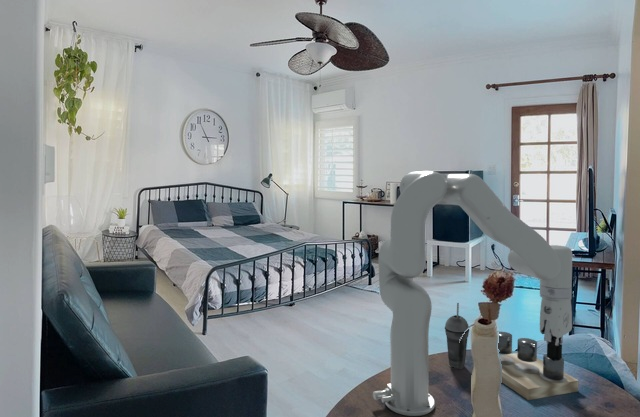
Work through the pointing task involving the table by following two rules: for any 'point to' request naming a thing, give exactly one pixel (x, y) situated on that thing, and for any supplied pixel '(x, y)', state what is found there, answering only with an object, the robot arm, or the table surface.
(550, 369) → the knob right
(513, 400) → the table surface
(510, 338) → the knob left
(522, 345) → the knob mid
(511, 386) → the mount plate
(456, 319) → the beverage cup
